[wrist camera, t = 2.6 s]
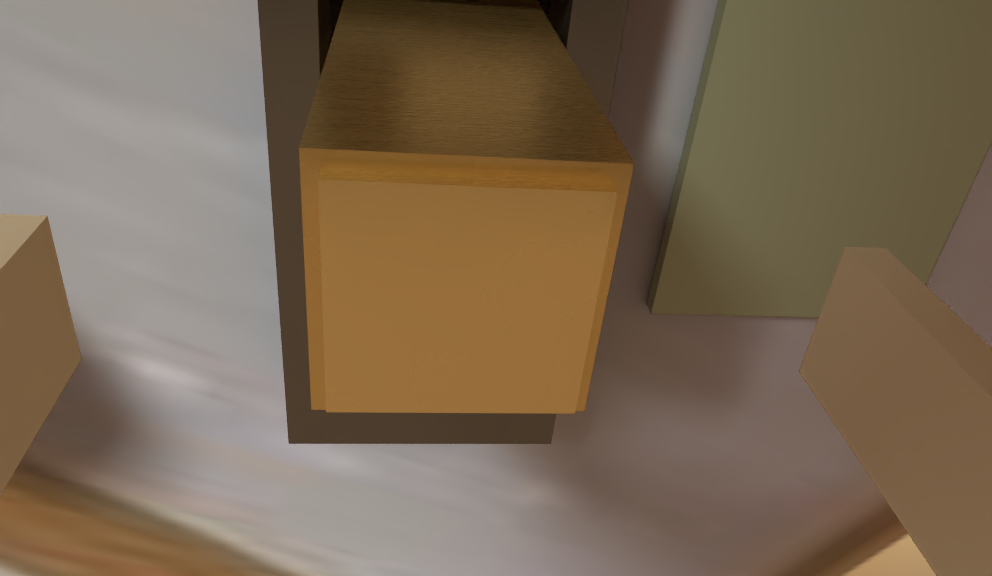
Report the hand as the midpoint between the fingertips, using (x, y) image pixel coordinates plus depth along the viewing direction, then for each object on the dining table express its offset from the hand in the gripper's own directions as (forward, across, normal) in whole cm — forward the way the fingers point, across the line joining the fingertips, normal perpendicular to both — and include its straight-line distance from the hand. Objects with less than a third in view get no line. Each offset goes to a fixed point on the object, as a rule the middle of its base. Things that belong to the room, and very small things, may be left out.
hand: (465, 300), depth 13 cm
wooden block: (+12, 0, 0) cm, 12 cm away
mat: (+12, +13, -1) cm, 17 cm away
